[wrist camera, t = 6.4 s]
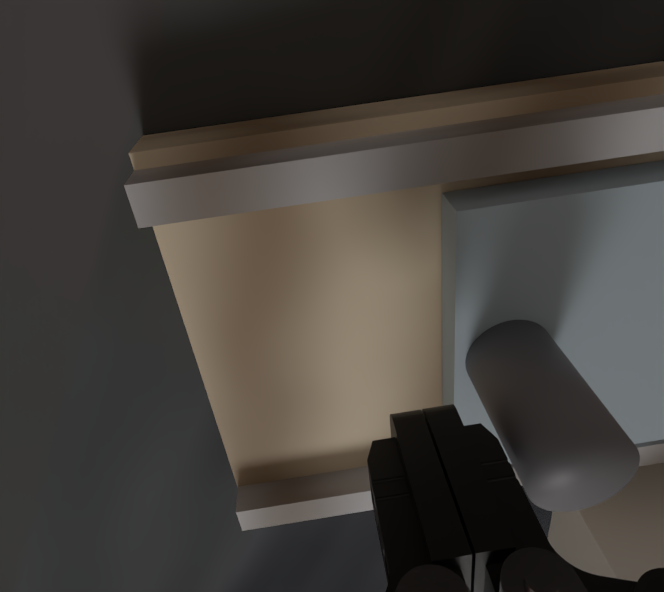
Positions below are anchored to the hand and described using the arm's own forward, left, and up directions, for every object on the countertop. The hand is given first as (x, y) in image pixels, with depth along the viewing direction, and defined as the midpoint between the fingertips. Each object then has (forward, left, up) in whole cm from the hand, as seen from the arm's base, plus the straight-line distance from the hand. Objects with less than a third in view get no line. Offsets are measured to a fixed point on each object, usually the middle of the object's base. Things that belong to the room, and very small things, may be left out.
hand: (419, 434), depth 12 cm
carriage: (-10, 0, -3) cm, 10 cm away
